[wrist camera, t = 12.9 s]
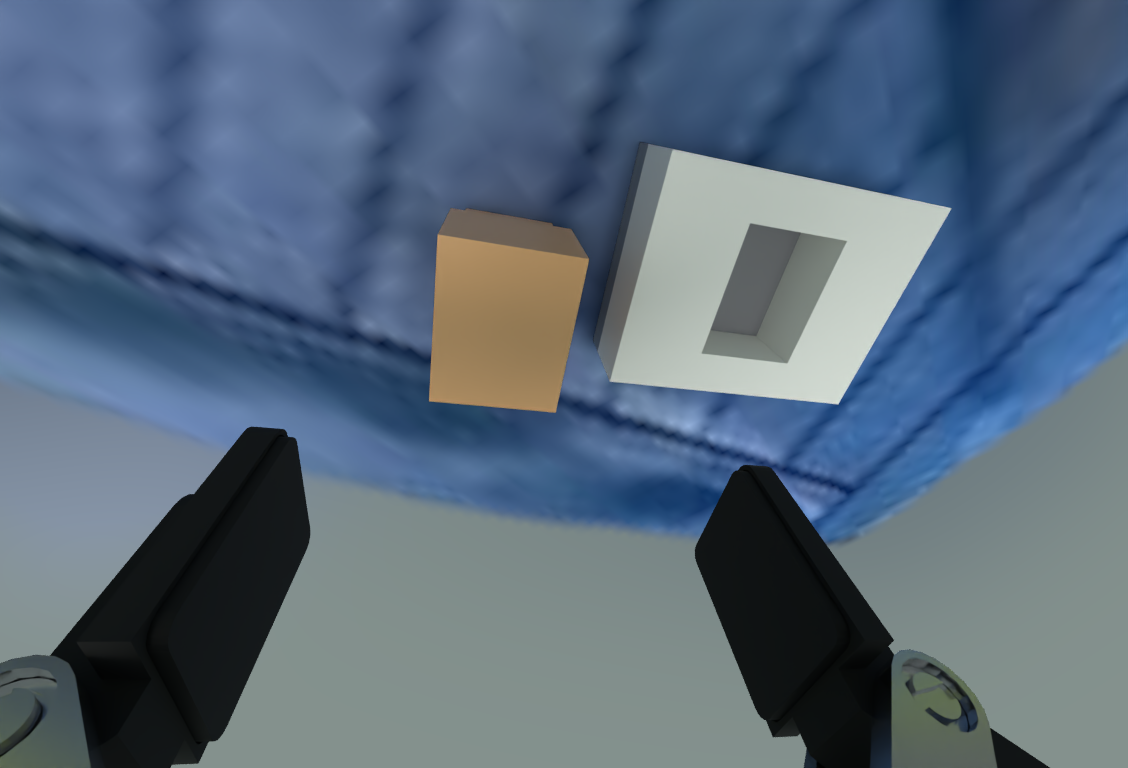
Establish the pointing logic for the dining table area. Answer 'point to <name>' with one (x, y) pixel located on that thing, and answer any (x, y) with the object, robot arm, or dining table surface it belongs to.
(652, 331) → the socket block
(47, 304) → the dining table surface
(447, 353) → the plug
